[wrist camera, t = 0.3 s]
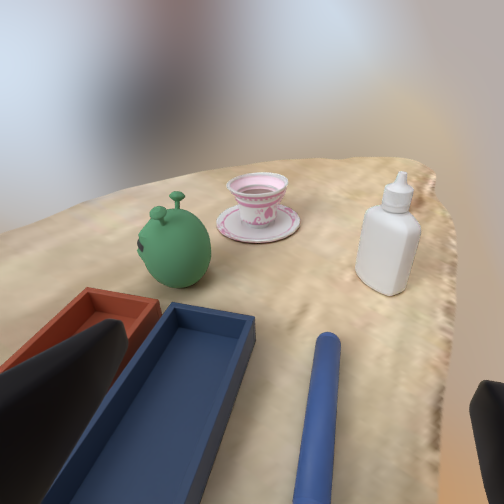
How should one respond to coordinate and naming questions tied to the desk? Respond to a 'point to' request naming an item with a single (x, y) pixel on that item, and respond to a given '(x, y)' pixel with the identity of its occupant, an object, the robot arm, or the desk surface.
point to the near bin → (162, 414)
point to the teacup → (258, 209)
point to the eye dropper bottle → (389, 240)
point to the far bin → (90, 313)
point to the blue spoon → (319, 425)
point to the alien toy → (175, 245)
